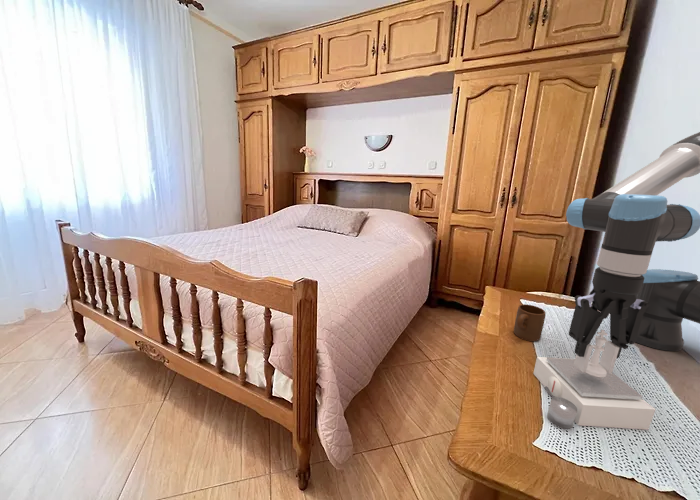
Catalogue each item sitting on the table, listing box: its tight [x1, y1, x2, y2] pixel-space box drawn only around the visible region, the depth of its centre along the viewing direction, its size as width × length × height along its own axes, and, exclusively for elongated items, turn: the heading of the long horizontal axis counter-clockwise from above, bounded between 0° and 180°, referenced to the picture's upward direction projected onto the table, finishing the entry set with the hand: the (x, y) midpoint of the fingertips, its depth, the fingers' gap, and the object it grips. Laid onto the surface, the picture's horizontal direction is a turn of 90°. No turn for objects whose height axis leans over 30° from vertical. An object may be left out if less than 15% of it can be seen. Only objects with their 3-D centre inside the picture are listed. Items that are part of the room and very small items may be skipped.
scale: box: [533, 356, 656, 431], centre depth 66 cm, size 14×16×5 cm
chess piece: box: [586, 329, 608, 377], centre depth 63 cm, size 5×5×10 cm
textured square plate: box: [546, 357, 644, 400], centre depth 65 cm, size 12×12×1 cm
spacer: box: [546, 397, 577, 430], centre depth 59 cm, size 4×4×4 cm
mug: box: [513, 303, 547, 342], centre depth 90 cm, size 12×8×9 cm, turn 126°
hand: (592, 368), depth 64 cm, fingers closed on chess piece, 5 cm apart
